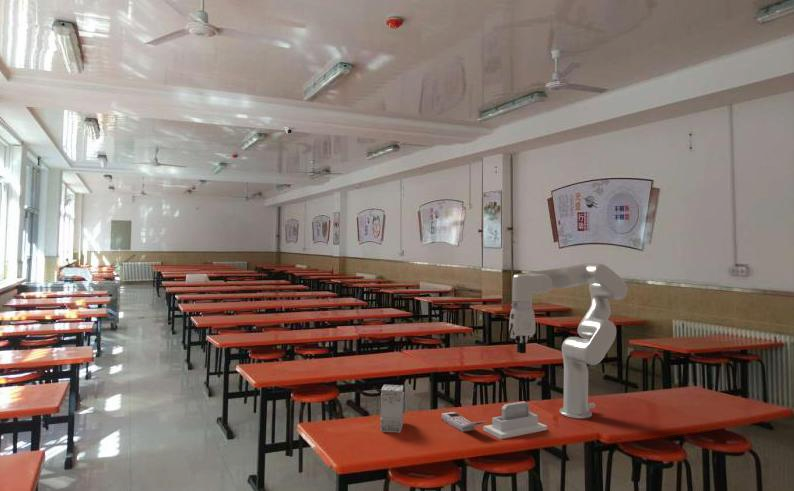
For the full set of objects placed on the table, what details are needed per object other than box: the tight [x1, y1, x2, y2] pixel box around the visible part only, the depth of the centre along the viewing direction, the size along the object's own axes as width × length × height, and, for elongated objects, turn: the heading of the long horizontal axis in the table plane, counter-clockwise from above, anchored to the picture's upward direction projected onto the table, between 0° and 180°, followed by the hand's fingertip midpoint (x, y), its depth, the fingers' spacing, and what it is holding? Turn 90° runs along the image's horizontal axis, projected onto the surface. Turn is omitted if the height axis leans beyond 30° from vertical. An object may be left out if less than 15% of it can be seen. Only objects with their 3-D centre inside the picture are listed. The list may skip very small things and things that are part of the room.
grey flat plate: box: [501, 400, 530, 421], centre depth 188 cm, size 2×12×8 cm, turn 118°
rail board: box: [482, 411, 548, 440], centre depth 188 cm, size 22×10×5 cm, turn 118°
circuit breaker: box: [379, 384, 405, 434], centre depth 191 cm, size 8×14×15 cm, turn 174°
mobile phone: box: [441, 411, 487, 432], centre depth 191 cm, size 6×6×25 cm
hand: (521, 352), depth 198 cm, fingers closed
